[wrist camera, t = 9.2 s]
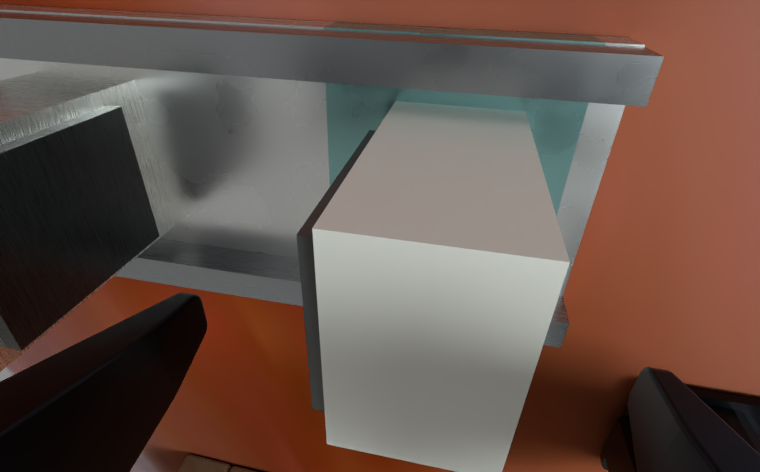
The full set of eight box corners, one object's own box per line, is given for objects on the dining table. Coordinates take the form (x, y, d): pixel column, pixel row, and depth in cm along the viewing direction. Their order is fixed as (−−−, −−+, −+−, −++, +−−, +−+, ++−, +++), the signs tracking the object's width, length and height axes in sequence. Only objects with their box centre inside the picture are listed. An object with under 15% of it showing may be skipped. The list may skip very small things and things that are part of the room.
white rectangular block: (492, 270, 16) (498, 480, 10) (375, 254, 17) (306, 439, 10) (525, 111, 13) (569, 262, 6) (380, 99, 14) (283, 224, 7)
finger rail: (629, 37, 13) (865, 150, 5) (549, 296, 18) (600, 550, 10) (4, 4, 16) (-451, 40, 8) (92, 230, 22) (-134, 383, 14)
